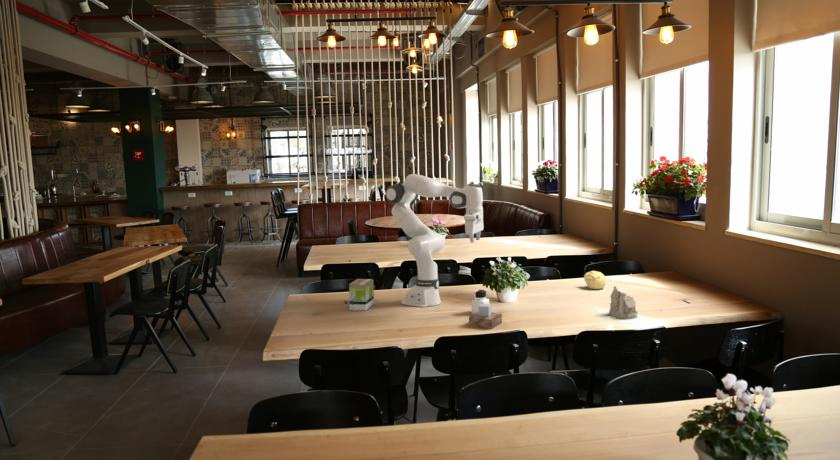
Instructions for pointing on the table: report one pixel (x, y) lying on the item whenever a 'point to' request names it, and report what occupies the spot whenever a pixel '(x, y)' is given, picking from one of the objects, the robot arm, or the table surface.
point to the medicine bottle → (479, 300)
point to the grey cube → (484, 310)
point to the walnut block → (485, 320)
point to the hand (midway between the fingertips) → (475, 241)
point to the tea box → (361, 294)
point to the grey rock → (622, 305)
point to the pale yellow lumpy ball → (595, 280)
